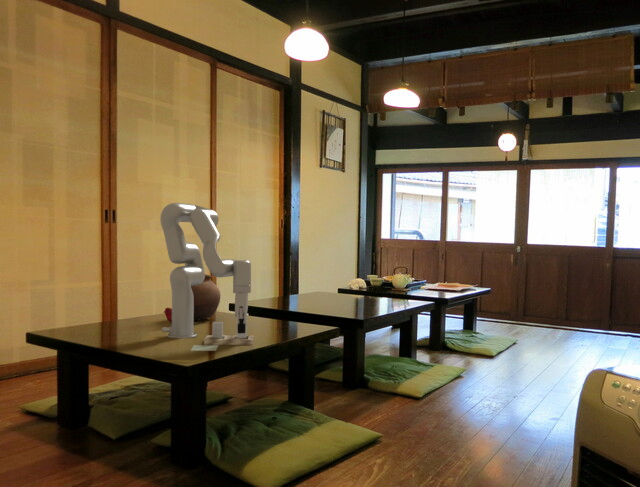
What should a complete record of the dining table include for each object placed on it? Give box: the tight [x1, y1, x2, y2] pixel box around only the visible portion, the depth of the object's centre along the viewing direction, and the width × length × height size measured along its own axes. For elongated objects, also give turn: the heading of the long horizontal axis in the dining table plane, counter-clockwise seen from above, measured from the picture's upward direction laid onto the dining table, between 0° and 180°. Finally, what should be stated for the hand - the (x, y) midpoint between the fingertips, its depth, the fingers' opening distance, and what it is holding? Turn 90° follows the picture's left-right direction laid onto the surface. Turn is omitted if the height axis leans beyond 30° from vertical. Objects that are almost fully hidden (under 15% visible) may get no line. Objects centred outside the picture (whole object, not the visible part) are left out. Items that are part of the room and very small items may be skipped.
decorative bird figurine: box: [163, 307, 172, 324], centre depth 269 cm, size 3×18×10 cm, turn 139°
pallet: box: [203, 334, 254, 346], centre depth 231 cm, size 20×10×2 cm, turn 95°
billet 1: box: [211, 321, 224, 339], centre depth 230 cm, size 4×4×9 cm
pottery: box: [191, 273, 221, 321], centre depth 289 cm, size 23×23×25 cm
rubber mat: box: [190, 344, 219, 352], centre depth 219 cm, size 10×10×1 cm
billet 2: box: [236, 315, 248, 338], centre depth 231 cm, size 4×4×9 cm
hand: (241, 331), depth 231 cm, fingers closed on billet 2, 4 cm apart
